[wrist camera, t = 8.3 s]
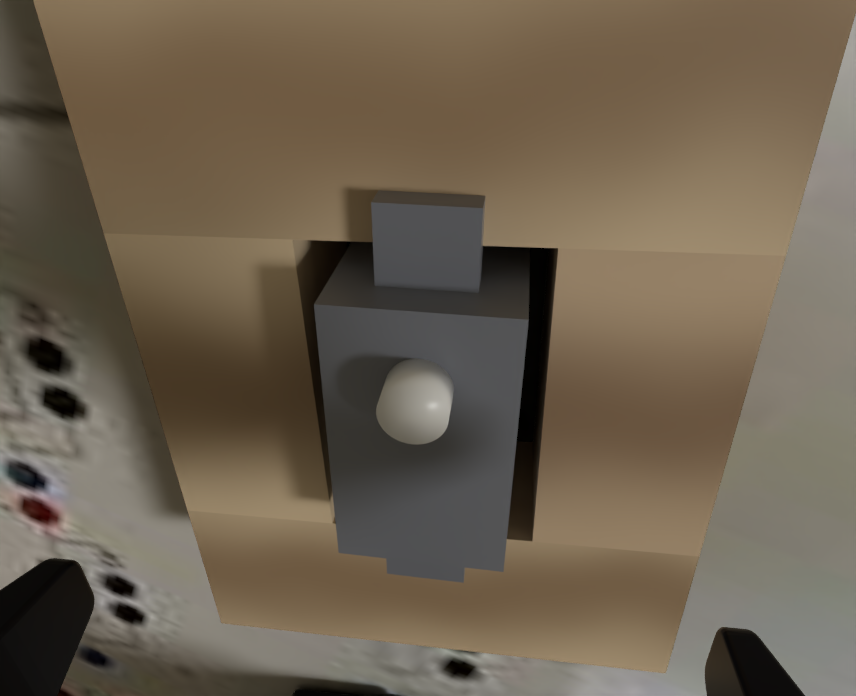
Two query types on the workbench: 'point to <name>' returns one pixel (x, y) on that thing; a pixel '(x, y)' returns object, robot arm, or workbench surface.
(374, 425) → the servo
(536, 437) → the tan flat block
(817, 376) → the workbench surface
